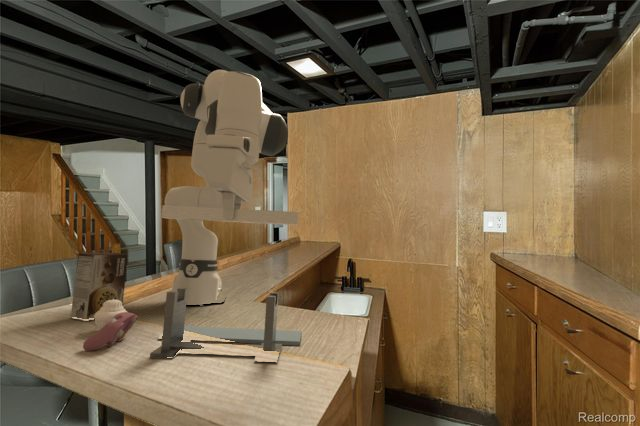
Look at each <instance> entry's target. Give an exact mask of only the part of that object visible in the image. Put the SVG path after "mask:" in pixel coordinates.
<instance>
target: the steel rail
mask: <svg viewBox="0 0 640 426" xmlns="http://www.w3.org/2000/svg"><path fill="white" fill-rule="evenodd" d="M161 207H162V208H161V218H162V219H167V220H169V219H170V220H176V219H184V220H203V222H204V221H205V222H206V221H207V222H225V223H227V222H228V223H229V222H230V223H244V224H245V223H246V224H248V223H249V224H266V225H267V224H268V225H269V224H270V225H285V226H287V225H289V226H299V212H298V211H287V210H286V211H285V210H284V211H283V210H268V209H267V210H262V209H247V208H246V209H245V208H242V209H234V210H235V215H234V219H225V218H223V210H224V209H223V208H209V207H189V206H170V205H165V204H163V205H162V206H161Z"/></svg>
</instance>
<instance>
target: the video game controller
mask: <svg viewBox="0 0 640 426" xmlns="http://www.w3.org/2000/svg"><path fill="white" fill-rule="evenodd" d="M126 311H127V310H126ZM138 319H139V316H138V315H136V313H132V312H129V311H127V312H122V313H118V314H116V315H115V316H114V317H113V319H112V320H110V321H109V322H108V323H107V324H106V325H105V326H104V327H103V328H102V329H100V330H99V329H98V330H97V331H96V332H95V333H93V334H92V335H90V336H89V337H87V338H86V340H85V341H84V342H83V346H82V348H83V350H84V351H85V352H92V351H95V350H98V349H100V348H101V347H103V346H105V345H106V346H108V347H113V345H114V344H116V342H120V341H121V340H122V339H124V338H125V337H126V334H127V333H128V332H129V331H130V330H131V328H133V327H134V325H135V324H136V322H137V320H138ZM120 339H121V340H120ZM119 340H120V341H119Z"/></svg>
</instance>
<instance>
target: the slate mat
mask: <svg viewBox="0 0 640 426" xmlns="http://www.w3.org/2000/svg"><path fill="white" fill-rule="evenodd" d="M184 330H185V331H189V332H194V333H197V334H201V335H206V336H210V337H215V338H220V339H225V340H230V341H235V342H239V343H238V344H250V345H261V344H262V343H264V331H265V328H244V327H243V328H241V327H240V328H239V327H219V326H216V327H215V326H196V325H195V326H194V325H193V326H192V325H184ZM301 339H302V330H290V329H289V330H287V329H276V340H275V344H282V346H298V347H299V346H300V345H301Z"/></svg>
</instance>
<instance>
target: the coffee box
mask: <svg viewBox="0 0 640 426" xmlns="http://www.w3.org/2000/svg"><path fill="white" fill-rule="evenodd" d="M128 256H129V255H128V253H121V252H87V253H86V252H79V253H78V255H77V261H76V263H77V264H76V271H75V272H76V273H75V279H74V288H73V294H72V295H73V296H72V302H71V311H70V317H77V318H82V319H89V318H94V315H95V313H96V312H97V311H99V310H100V308H101V307H103V303H104V302H106V301H108V300H112V299H114V300H120V301H121V302H122V306H123V304H124V298H125V296H124V295H125V285H126V275H127V265H128ZM123 307H124V306H123Z"/></svg>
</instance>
